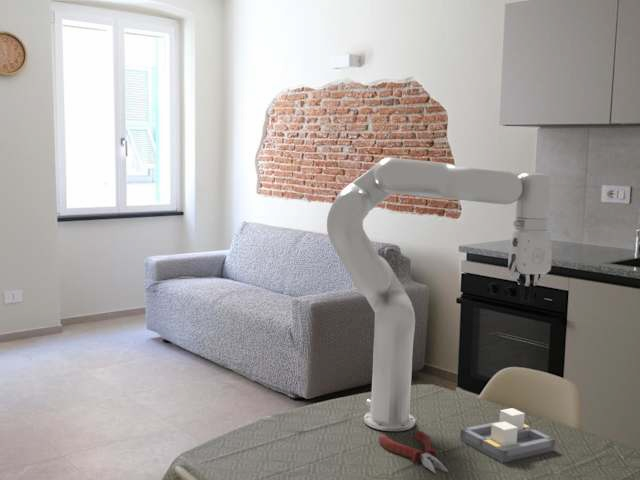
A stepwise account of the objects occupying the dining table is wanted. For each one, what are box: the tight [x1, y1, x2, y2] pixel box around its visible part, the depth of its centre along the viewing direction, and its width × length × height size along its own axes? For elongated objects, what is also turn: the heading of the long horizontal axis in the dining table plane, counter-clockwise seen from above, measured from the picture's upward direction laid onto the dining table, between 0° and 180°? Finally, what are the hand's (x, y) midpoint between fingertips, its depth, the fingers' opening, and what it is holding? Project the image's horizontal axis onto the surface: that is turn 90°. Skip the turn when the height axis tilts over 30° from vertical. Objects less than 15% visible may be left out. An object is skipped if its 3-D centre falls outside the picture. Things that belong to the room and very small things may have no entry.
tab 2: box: [491, 421, 518, 447], centre depth 167 cm, size 4×4×5 cm
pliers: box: [378, 430, 449, 475], centre depth 164 cm, size 12×20×3 cm, turn 21°
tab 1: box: [498, 407, 525, 431], centre depth 176 cm, size 4×4×5 cm
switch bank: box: [459, 420, 556, 463], centre depth 172 cm, size 14×16×3 cm
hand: (526, 301), depth 178 cm, fingers closed
